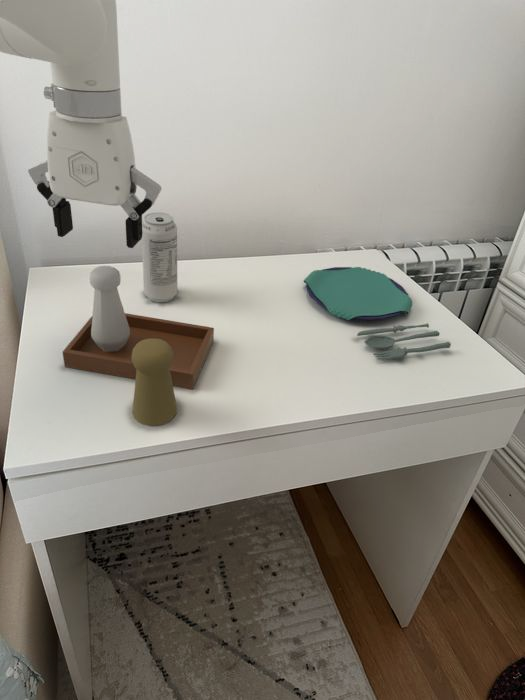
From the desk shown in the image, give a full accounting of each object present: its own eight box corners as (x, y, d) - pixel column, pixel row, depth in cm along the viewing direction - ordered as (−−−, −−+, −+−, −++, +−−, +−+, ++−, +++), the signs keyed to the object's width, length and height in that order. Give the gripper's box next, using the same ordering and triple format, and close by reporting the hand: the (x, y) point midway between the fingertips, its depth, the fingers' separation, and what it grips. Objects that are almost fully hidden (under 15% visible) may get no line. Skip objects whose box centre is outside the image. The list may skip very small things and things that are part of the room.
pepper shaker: (130, 398, 75) (126, 333, 68) (174, 394, 76) (173, 330, 70) (133, 428, 70) (128, 361, 64) (179, 423, 72) (179, 357, 65)
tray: (64, 366, 79) (62, 351, 78) (99, 322, 89) (98, 308, 88) (192, 389, 78) (193, 374, 76) (213, 341, 88) (214, 327, 86)
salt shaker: (125, 331, 87) (120, 258, 79) (135, 351, 83) (130, 276, 75) (88, 338, 84) (79, 263, 77) (96, 358, 80) (87, 282, 73)
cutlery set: (375, 271, 114) (377, 261, 113) (460, 352, 92) (464, 341, 90) (289, 279, 108) (290, 268, 107) (357, 367, 85) (360, 356, 84)
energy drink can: (173, 286, 102) (172, 210, 93) (181, 301, 97) (180, 223, 88) (141, 289, 100) (137, 212, 91) (148, 305, 95) (144, 226, 86)
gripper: (1, 98, 61) (24, 239, 70) (148, 118, 59) (151, 259, 69) (35, 88, 67) (52, 219, 76) (168, 107, 65) (169, 238, 75)
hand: (99, 238), depth 73 cm, fingers open, 9 cm apart
